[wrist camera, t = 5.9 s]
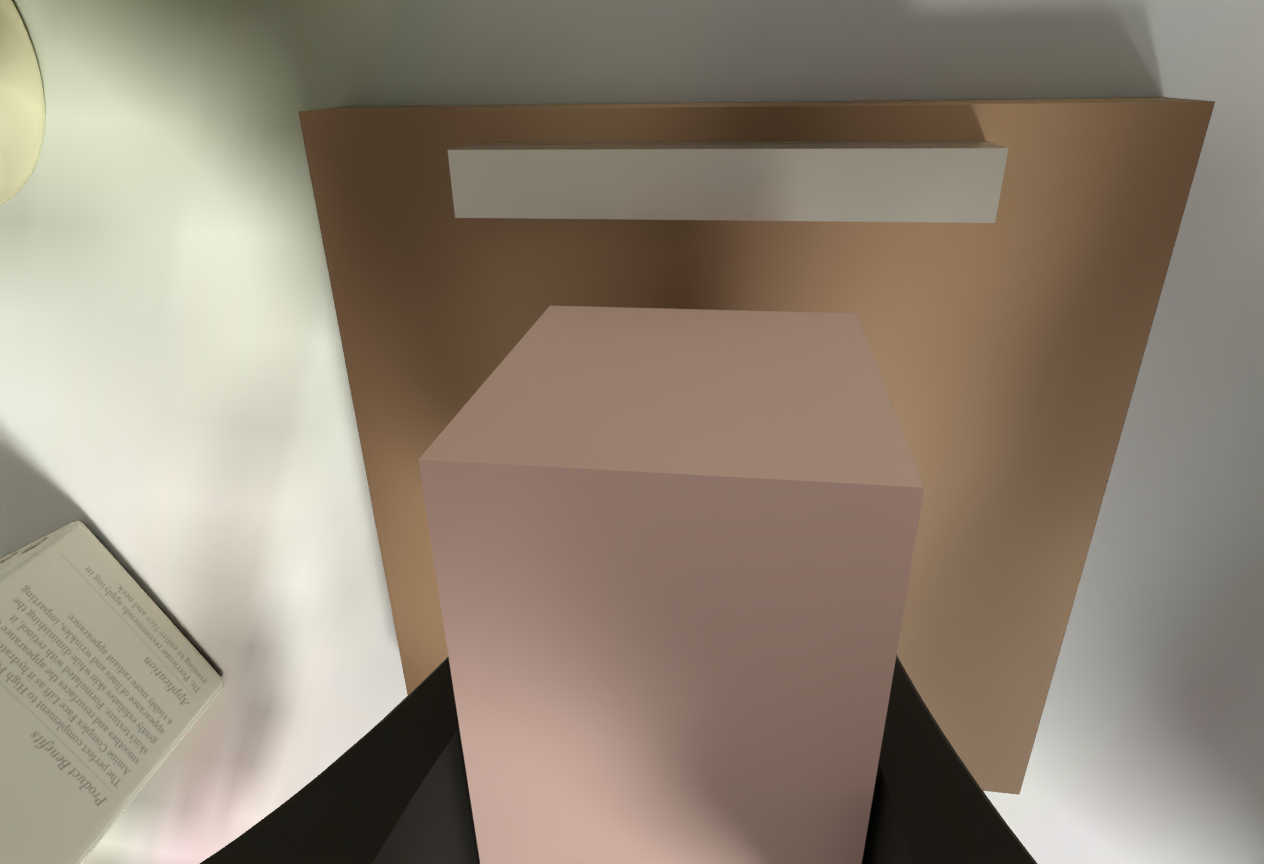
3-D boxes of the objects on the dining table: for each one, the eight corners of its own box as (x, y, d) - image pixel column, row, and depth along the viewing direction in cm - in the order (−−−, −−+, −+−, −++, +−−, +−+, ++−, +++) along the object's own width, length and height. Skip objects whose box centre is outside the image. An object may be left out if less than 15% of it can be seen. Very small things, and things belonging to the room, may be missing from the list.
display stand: (1165, 97, 12) (1264, 106, 10) (1000, 740, 18) (1036, 843, 16) (342, 107, 14) (256, 115, 12) (436, 685, 20) (393, 768, 18)
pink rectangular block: (857, 313, 10) (923, 487, 6) (801, 805, 14) (819, 1114, 10) (550, 305, 10) (418, 459, 6) (580, 780, 14) (510, 1062, 10)
